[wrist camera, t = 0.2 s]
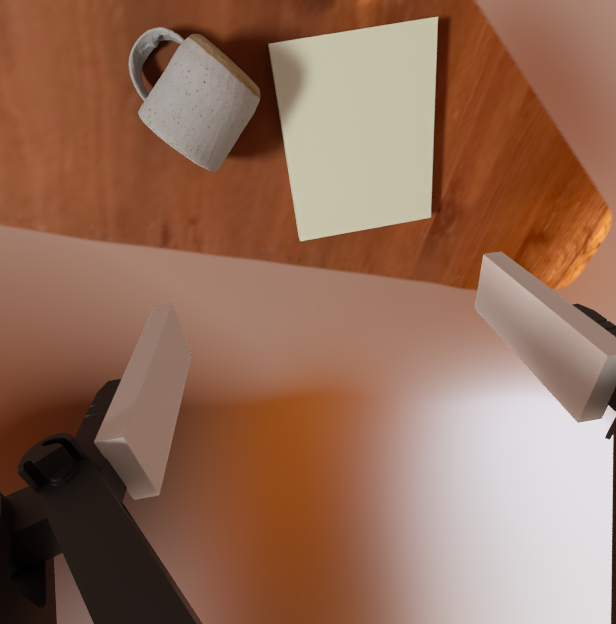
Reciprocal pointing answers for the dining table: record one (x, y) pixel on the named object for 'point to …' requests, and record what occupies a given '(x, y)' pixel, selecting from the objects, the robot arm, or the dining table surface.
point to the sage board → (358, 125)
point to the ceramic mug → (194, 97)
